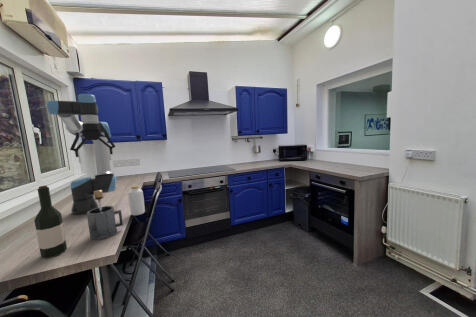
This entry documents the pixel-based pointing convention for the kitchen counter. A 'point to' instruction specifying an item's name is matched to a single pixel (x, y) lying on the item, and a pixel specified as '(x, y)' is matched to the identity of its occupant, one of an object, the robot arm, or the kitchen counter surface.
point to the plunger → (98, 198)
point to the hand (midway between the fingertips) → (96, 161)
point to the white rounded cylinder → (136, 201)
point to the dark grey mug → (103, 222)
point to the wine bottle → (49, 227)
